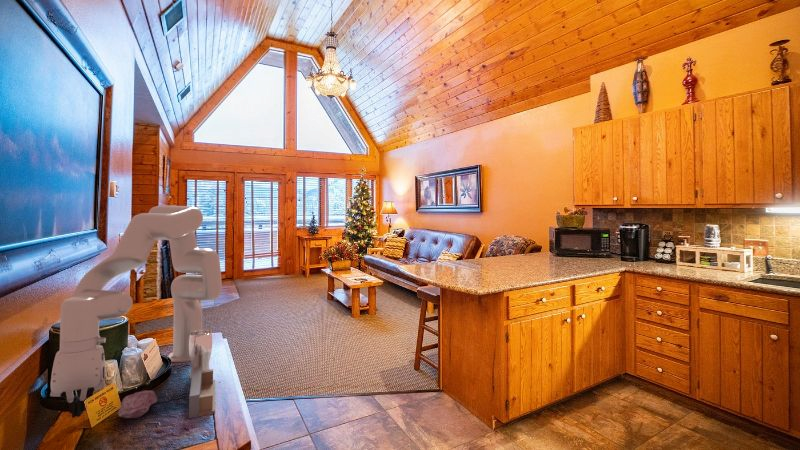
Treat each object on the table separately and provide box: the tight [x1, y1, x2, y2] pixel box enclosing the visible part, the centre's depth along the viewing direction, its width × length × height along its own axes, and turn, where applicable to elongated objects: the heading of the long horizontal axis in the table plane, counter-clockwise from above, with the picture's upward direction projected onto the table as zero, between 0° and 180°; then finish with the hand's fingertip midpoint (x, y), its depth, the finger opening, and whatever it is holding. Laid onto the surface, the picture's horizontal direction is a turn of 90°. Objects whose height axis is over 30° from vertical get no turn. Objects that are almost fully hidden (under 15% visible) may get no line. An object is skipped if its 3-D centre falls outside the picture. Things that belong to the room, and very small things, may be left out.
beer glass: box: [189, 329, 213, 381], centre depth 119 cm, size 7×7×15 cm
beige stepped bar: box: [188, 366, 216, 419], centre depth 105 cm, size 20×6×6 cm, turn 28°
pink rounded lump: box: [117, 389, 158, 419], centre depth 98 cm, size 8×14×5 cm, turn 24°
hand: (77, 414), depth 91 cm, fingers closed
